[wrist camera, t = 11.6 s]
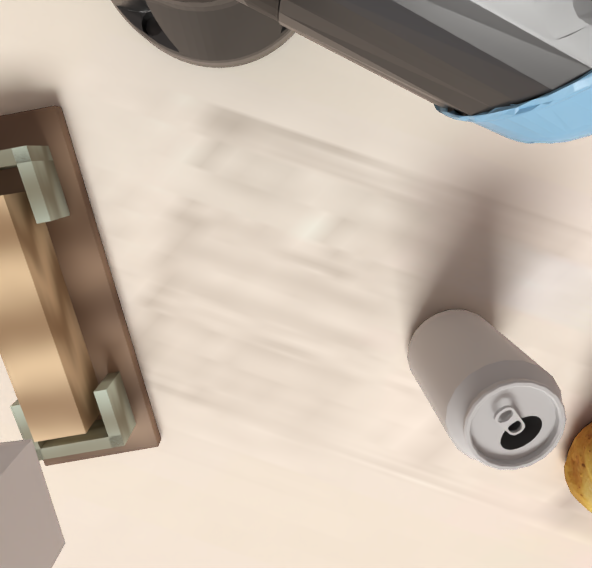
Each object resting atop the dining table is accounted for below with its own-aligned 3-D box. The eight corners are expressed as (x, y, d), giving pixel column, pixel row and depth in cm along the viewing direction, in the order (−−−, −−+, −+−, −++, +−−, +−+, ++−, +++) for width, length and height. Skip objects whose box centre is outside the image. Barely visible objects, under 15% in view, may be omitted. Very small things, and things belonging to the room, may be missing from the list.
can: (440, 403, 41) (503, 502, 29) (386, 346, 39) (429, 427, 28) (509, 348, 40) (603, 430, 28) (456, 287, 38) (532, 347, 26)
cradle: (-74, 132, 34) (-120, 130, 30) (61, 107, 33) (32, 101, 29) (51, 458, 41) (27, 490, 37) (161, 439, 41) (148, 469, 37)
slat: (-19, 199, 34) (-57, 206, 30) (34, 190, 34) (3, 195, 30) (58, 413, 39) (34, 442, 35) (105, 405, 39) (86, 433, 35)
